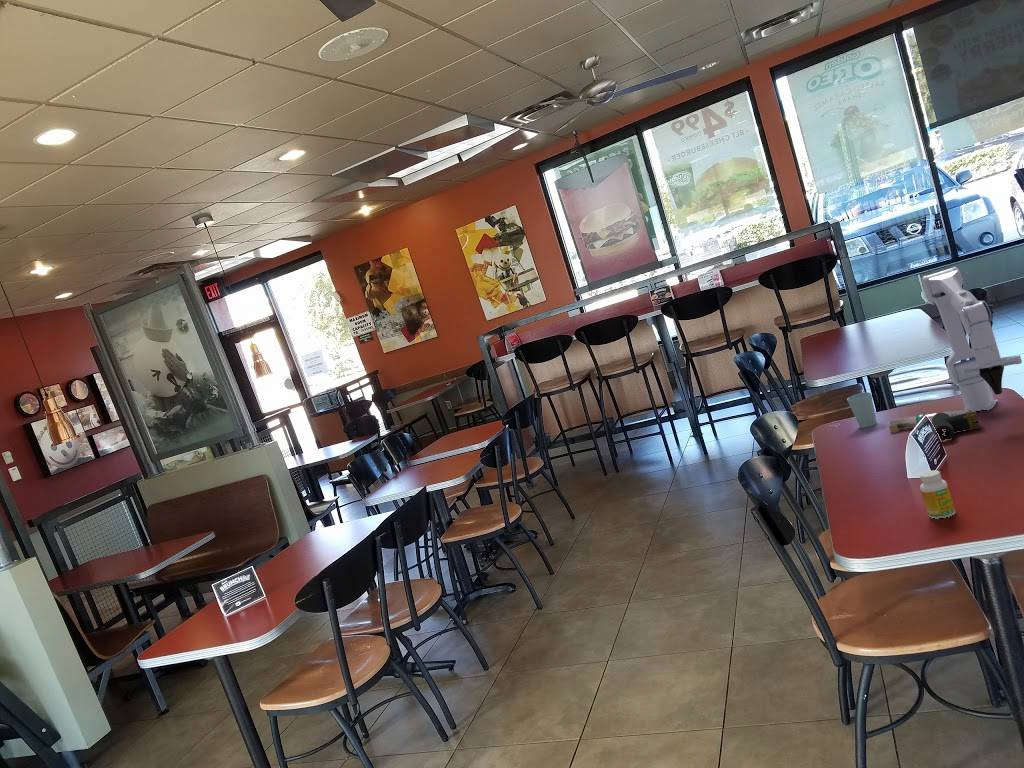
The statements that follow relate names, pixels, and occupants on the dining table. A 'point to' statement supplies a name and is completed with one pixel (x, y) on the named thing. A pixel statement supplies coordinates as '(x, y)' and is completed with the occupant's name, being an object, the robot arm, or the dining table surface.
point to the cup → (863, 409)
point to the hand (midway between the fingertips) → (998, 393)
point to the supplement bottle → (936, 495)
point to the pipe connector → (954, 423)
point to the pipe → (912, 421)
